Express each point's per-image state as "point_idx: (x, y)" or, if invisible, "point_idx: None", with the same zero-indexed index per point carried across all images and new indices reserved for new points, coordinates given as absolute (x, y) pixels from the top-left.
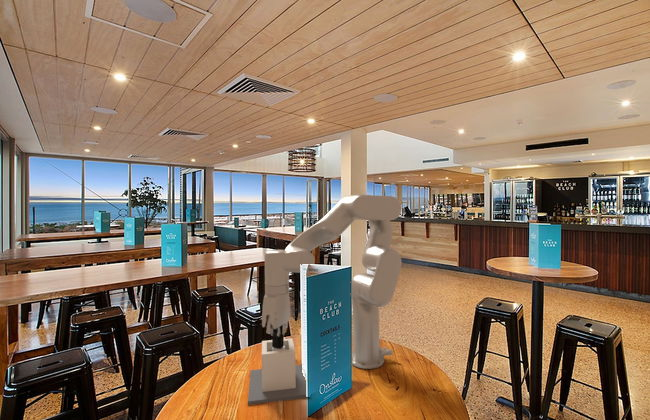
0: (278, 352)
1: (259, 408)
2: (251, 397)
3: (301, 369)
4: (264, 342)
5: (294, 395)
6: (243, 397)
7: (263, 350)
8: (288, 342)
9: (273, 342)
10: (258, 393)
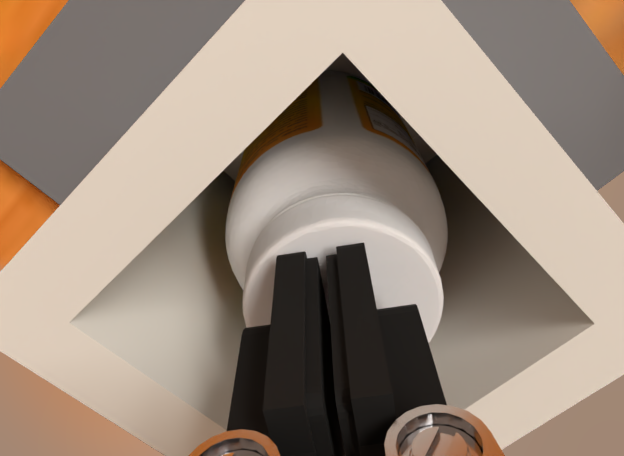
0: (173, 448)
1: (23, 217)
2: (15, 117)
3: None
4: (314, 10)
5: None
6: (4, 14)
7: (59, 252)
8: (548, 341)
9: (238, 364)
10: (89, 123)
